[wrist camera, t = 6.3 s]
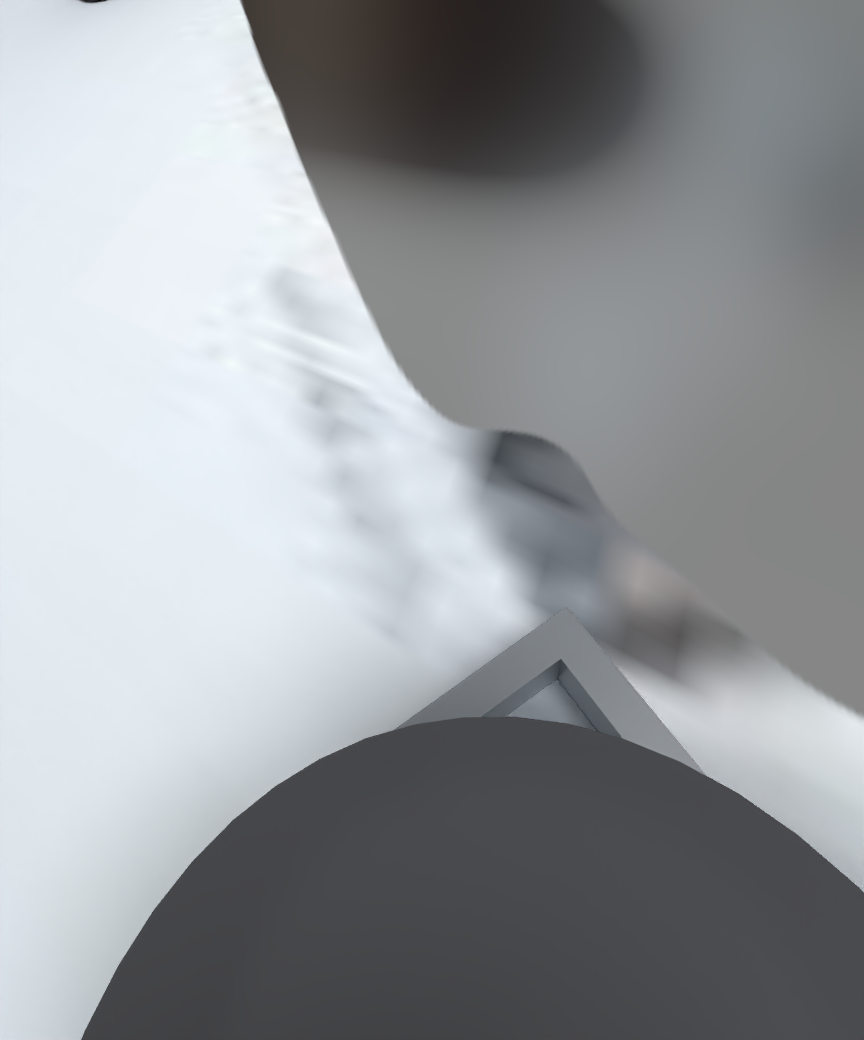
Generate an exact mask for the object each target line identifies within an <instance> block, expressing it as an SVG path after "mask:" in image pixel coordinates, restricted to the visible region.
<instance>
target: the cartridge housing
mask: <svg viewBox="0 0 864 1040" xmlns="http://www.w3.org/2000/svg"><path fill="white" fill-rule="evenodd" d="M557 678H558V680H559V681H560V682H561V684H562V685H563V686H564V687H565V689H566V690H567V691H568V693H569V694H570V695H571V697H572V698H573V699H574V701H575V702H576V703H577V705H578V706H579V707H580V709H581V710H582V711H583V713H584V714H585V715H586V717H587V718H588V719H589V720H590V722H591V723H592V724H593V726H594V727H595V728H596V730H597V731H598V732H600V733H604V734H608V735H612V736H615V737H619V738H623V739H625V740H628V741H630V742H633V743H635V744H638V745H640V746H643V747H645V748H648V749H650V750H653V751H655V752H658V753H660V754H663V755H665V756H667V757H670V758H672V759H675V760H677V761H680V762H682V763H683V764H685V765H687V766H689V767H691V768H693V769H694V770H696V771H698V772H700V773H702V774H704V772H703V771H702V770H701V769H700V768H699V766H698V765H697V764H696V763H695V762H694V760H693V759H692V758H691V757H690V755H689V754H688V753H687V752H686V751H685V749H684V748H683V747H682V746H681V745H680V743H679V742H678V741H677V740H676V738H675V737H674V736H673V735H672V734H671V732H670V731H669V730H668V729H667V728H666V726H665V725H664V724H663V723H662V721H661V720H660V719H659V718H658V717H657V715H656V714H655V713H654V712H653V711H652V709H651V708H650V707H649V706H648V704H647V703H646V702H645V701H644V700H643V698H642V697H641V696H640V695H639V694H638V692H637V691H636V690H635V689H634V687H633V686H632V685H631V684H630V683H629V681H628V680H627V679H626V678H625V677H624V675H623V674H622V673H621V672H620V670H619V669H618V668H617V667H616V666H615V664H614V663H613V662H612V661H611V660H610V658H609V657H608V656H607V655H606V653H605V652H604V651H603V650H602V649H601V647H600V646H599V645H598V644H597V643H596V641H595V640H594V639H593V638H592V636H591V635H590V634H589V633H588V632H587V630H586V629H585V628H584V627H583V626H582V624H581V623H580V622H579V621H578V619H577V618H576V617H575V616H574V615H573V613H572V612H571V611H570V610H569V609H568V607H566V608H564V609H563V610H561V611H560V612H559V613H557V614H556V615H554V616H553V617H552V618H550V619H549V620H547V621H546V622H545V623H543V624H542V625H540V626H539V627H538V628H536V629H535V630H533V631H532V632H531V633H529V634H528V635H526V636H525V637H524V638H522V639H521V640H519V641H518V642H517V643H515V644H514V645H512V646H511V647H510V648H508V649H507V650H505V651H504V652H503V653H501V654H500V655H498V656H497V657H496V658H494V659H493V660H491V661H490V662H489V663H487V664H486V665H484V666H483V667H482V668H480V669H479V670H477V671H476V672H475V673H473V674H472V675H470V676H469V677H468V678H466V679H465V680H463V681H462V682H461V683H459V684H458V685H456V686H455V687H454V688H452V689H451V690H449V691H448V692H447V693H445V694H444V695H442V696H441V697H440V698H438V699H437V700H435V701H434V702H433V703H431V704H430V705H428V706H427V707H426V708H424V709H423V710H422V711H420V712H419V713H417V714H416V715H415V716H413V717H412V718H410V719H409V720H408V721H406V722H405V723H403V724H402V725H401V726H399V727H398V728H396V729H395V730H397V729H400V728H403V727H407V726H410V725H414V724H421V723H428V722H434V721H441V720H448V719H455V718H462V717H505V716H507V715H508V714H509V713H511V712H512V711H513V710H515V709H516V708H518V707H519V706H520V705H522V704H523V703H524V702H526V701H527V700H529V699H530V698H531V697H533V696H534V695H535V694H537V693H538V692H540V691H541V690H542V689H544V688H545V687H546V686H548V685H549V684H550V683H552V682H553V681H555V680H556V679H557ZM704 775H705V774H704ZM705 776H706V775H705Z"/></svg>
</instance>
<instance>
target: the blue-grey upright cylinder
mask: <svg viewBox="0 0 864 1040" xmlns="http://www.w3.org/2000/svg"><path fill="white" fill-rule="evenodd" d="M81 1040H864V892H863V891H862V890H861V889H860V888H859V887H858V886H856V885H855V884H854V883H853V882H852V881H851V880H849V879H848V878H847V877H846V876H845V875H844V874H842V873H841V872H840V871H839V870H838V869H837V868H835V867H834V866H833V865H832V864H831V863H830V862H829V861H827V860H826V859H825V858H824V857H823V856H822V855H820V854H819V853H818V852H817V851H816V850H815V849H813V848H812V847H811V846H810V845H809V844H808V843H806V842H805V841H804V840H803V839H802V838H801V837H799V836H798V835H797V834H796V833H794V832H793V831H791V830H790V829H788V828H787V827H785V826H784V825H783V824H781V823H780V822H778V821H777V820H775V819H774V818H773V817H771V816H770V815H768V814H767V813H765V812H764V811H763V810H761V809H760V808H758V807H757V806H755V805H754V804H753V803H751V802H750V801H748V800H747V799H745V798H744V797H743V796H741V795H740V794H738V793H736V792H735V791H733V790H731V789H729V788H727V787H725V786H724V785H722V784H720V783H718V782H716V781H715V780H713V779H711V778H709V777H707V776H705V775H704V774H702V773H700V772H698V771H696V770H694V769H693V768H691V767H689V766H687V765H685V764H683V763H682V762H680V761H677V760H675V759H672V758H670V757H667V756H665V755H663V754H660V753H658V752H655V751H653V750H650V749H648V748H645V747H643V746H640V745H638V744H635V743H633V742H630V741H628V740H625V739H623V738H619V737H615V736H612V735H608V734H604V733H600V732H597V731H593V730H589V729H585V728H582V727H578V726H574V725H570V724H565V723H558V722H550V721H542V720H535V719H527V718H519V717H462V718H455V719H448V720H441V721H434V722H428V723H421V724H414V725H410V726H407V727H403V728H400V729H397V730H393V731H390V732H386V733H383V734H380V735H376V736H373V737H369V738H366V739H364V740H361V741H359V742H357V743H355V744H352V745H350V746H348V747H346V748H343V749H341V750H339V751H337V752H335V753H332V754H330V755H328V756H326V757H323V758H321V759H319V760H317V761H316V762H314V763H313V764H311V765H309V766H308V767H306V768H304V769H303V770H301V771H300V772H298V773H296V774H295V775H293V776H292V777H290V778H288V779H287V780H285V781H283V782H282V783H280V784H279V785H277V786H275V787H274V788H273V789H271V790H270V791H269V792H268V793H267V794H265V795H264V796H263V797H262V798H260V799H259V800H258V801H257V802H255V803H254V804H253V805H252V806H250V807H249V808H248V809H247V810H245V811H244V812H243V813H242V814H240V815H239V816H238V817H237V818H235V819H234V820H233V821H232V822H231V823H230V824H229V825H228V826H227V827H226V828H225V829H224V830H223V831H222V832H221V833H220V834H219V835H218V836H217V837H216V838H215V839H214V840H213V841H212V842H211V843H210V844H209V845H208V846H207V847H206V848H205V849H204V850H203V851H202V852H201V853H200V854H199V855H198V856H197V857H196V858H195V860H194V861H193V862H192V863H191V864H190V865H189V866H188V868H187V869H186V870H185V872H184V873H183V874H182V875H181V877H180V878H179V879H178V880H177V882H176V883H175V884H174V885H173V887H172V888H171V889H170V891H169V892H168V893H167V894H166V896H165V897H164V898H163V899H162V901H161V902H160V903H159V904H158V906H157V907H156V908H155V910H154V911H153V912H152V914H151V916H150V917H149V919H148V920H147V922H146V923H145V925H144V927H143V928H142V930H141V931H140V933H139V934H138V936H137V938H136V939H135V941H134V942H133V944H132V945H131V947H130V949H129V950H128V952H127V953H126V955H125V956H124V958H123V960H122V961H121V963H120V964H119V966H118V968H117V969H116V971H115V973H114V975H113V977H112V979H111V981H110V983H109V985H108V987H107V989H106V991H105V993H104V995H103V997H102V999H101V1001H100V1003H99V1005H98V1007H97V1008H96V1010H95V1012H94V1014H93V1016H92V1018H91V1020H90V1022H89V1024H88V1026H87V1028H86V1030H85V1032H84V1035H83V1037H82V1039H81Z"/></svg>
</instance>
